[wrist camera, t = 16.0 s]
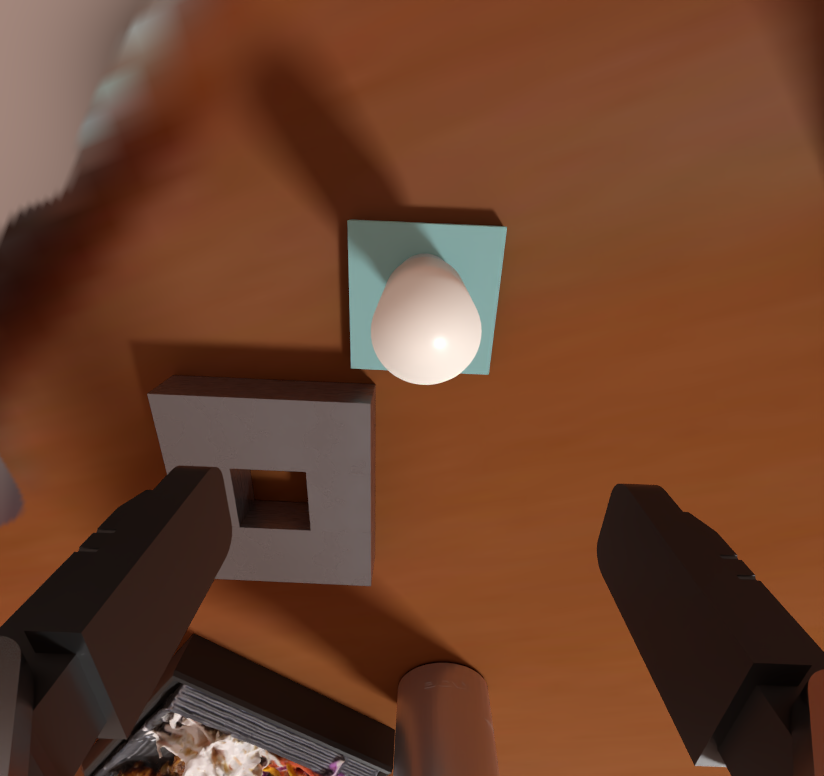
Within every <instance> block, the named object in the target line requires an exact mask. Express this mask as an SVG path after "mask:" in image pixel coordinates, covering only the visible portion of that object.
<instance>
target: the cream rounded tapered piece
mask: <svg viewBox="0 0 824 776" xmlns="http://www.w3.org/2000/svg"><path fill="white" fill-rule="evenodd" d="M481 333H482V330H481V321H480V316H479V314H478V311H477V309H476V307H475V305H474V303H473V301H472V299H471V297H470V295H469V293H468V291H467V289H466V287H465V285H464V283H463V281H462V279H461V277H460V275H459V274H458V273H457V271H456V270H455V269H454V268H453V267H452V266H450V265H449V264H448V263H446V262H445V261H444V260H442V259H441V258H439V257H438V256H435V255H432V254H417V255H414V256H412V257H410V258H408V259H407V260H405V261H404V262H403V263H402V264H401V265H400V266H399V267H397V268H396V269H395V270H394V272H393V273H392V274H391V276H390V277H389V279H388V281H387V283H386V286H385V288H384V291H383V293H382V295H381V298H380V300H379V303H378V305H377V308H376V310H375V313H374V315H373V319H372V323H371V340H372V345H373V348H374V351H375V353H376V355H377V357H378V359H379V360H380V362H381V363H382V364H383V366H384V367H385V368H386V369H387V370H388V371H389V372H391V373H392V374H393V375H395V376H396V377H398V378H400V379H402V380H404V381H407V382H410V383H414V384H421V385H430V384H437V383H442V382H444V381H447V380H450V379H452V378H454V377H455V376H457V375H458V374H460V373H461V372H462V371H463V370H465V369H466V368H467V366H468V365H469V364H470V363H471V362H472V360H473V359H474V357H475V355H476V353H477V351H478V348H479V345H480V341H481Z"/></svg>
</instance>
